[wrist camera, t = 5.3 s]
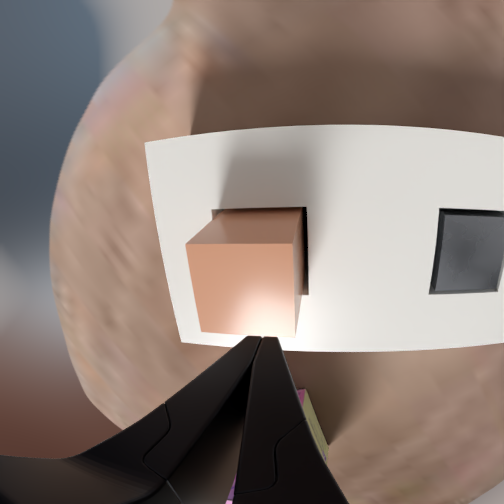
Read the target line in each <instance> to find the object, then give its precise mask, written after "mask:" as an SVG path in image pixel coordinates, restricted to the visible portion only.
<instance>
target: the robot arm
mask: <svg viewBox="0 0 504 504" xmlns="http://www.w3.org/2000/svg"><path fill="white" fill-rule="evenodd" d="M236 473H237V474H236ZM235 476H236V480H235V487H234V496H233V501H232V504H349V503H348V501H347V499H346V498H345V496H344V494H343V492H342V491H341V489H340V487H339V486H338V484H337V482H336V481H335V479H334V477H333V475H332V474H331V472H330V470H329V468H328V467H327V465H326V463H325V461H324V459H323V457H322V455H321V453H320V451H319V449H318V447H317V445H316V442H315V440H314V437H313V435H312V432H311V430H310V427H309V424H308V421H307V419H306V416H305V413H304V410H303V407H302V404H301V402H300V399H299V396H298V393H297V390H296V387H295V384H294V382H293V379H292V376H291V373H290V370H289V367H288V364H287V361H286V359H285V356H284V353H283V350H282V347H281V344H280V341H279V339H278V337H271V336H264V337H263V338H262V337H261V336H252V335H248V336H246V337H245V338H244V339H242V340H241V341H240V342H239V343H238V344H236V345H235V346H234V347H233V348H232V349H230V350H229V351H228V352H227V353H226V354H224V355H223V356H222V357H221V358H220V359H218V360H217V361H216V362H215V363H213V364H212V365H211V366H210V367H208V368H207V369H206V370H205V371H203V372H202V373H201V374H200V375H198V376H197V377H196V378H195V379H193V380H192V381H191V382H190V383H188V384H187V385H186V386H185V387H183V388H182V389H181V390H179V391H178V392H177V393H176V394H174V395H173V396H172V397H170V398H169V399H168V400H167V401H165V404H164V403H162V404H161V405H160V406H158V407H157V408H156V409H154V410H153V411H152V412H150V413H149V414H148V415H146V416H145V417H143V418H142V419H140V420H139V421H137V422H136V423H134V424H133V425H131V426H129V427H128V428H126V429H124V430H123V431H121V432H119V433H118V434H116V435H114V436H112V437H111V438H109V439H107V440H105V441H103V442H102V443H100V444H98V445H96V446H94V447H92V448H91V449H88V450H87V451H84V452H82V453H80V454H78V455H75V456H72V457H68V458H61V459H46V458H28V457H15V456H4V455H0V504H226V501H227V499H228V496H229V493H230V490H231V487H232V485H233V482H234V479H235Z"/></svg>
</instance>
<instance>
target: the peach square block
mask: <svg viewBox="0 0 504 504" xmlns="http://www.w3.org/2000/svg"><path fill="white" fill-rule="evenodd" d="M185 247H186V253H187V259H188V264H189V270H190V276H191V281H192V287H193V292H194V298H195V303H196V308H197V313H198V318H199V323H200V328H201V332H208V333H221V334H234V335H252V336H271V337H290V338H295V336H296V330H297V324H298V318H299V312H300V305H301V299H302V292H303V286H304V279H305V262H304V227H303V207H265V208H234V209H224V210H223V211H222V212H221V213H220V214H218V215H217V216H216V217H215V218H214V219H213V220H212V221H210V222H209V223H208V224H207V225H206V226H205V227H204V228H203V229H201V230H200V231H199V232H198V233H197V234H196V235H195V236H194V237H193V238H191V239H190V240H189V241H188V242H187V243H186V244H185Z"/></svg>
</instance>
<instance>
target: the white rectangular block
mask: <svg viewBox="0 0 504 504" xmlns="http://www.w3.org/2000/svg"><path fill="white" fill-rule="evenodd" d="M145 151H146V158H147V166H148V173H149V180H150V187H151V194H152V200H153V207H154V213H155V219H156V224H157V230H158V236H159V241H160V246H161V252H162V257H163V262H164V267H165V272H166V277H167V281H168V286H169V291H170V295H171V300H172V304H173V309H174V313H175V317H176V321H177V326H178V330H179V334H180V338H181V342H186V343H195V344H204V345H215V346H226V347H234V346H235V345H236V344H238V343H239V342H240V341H241V340H242V339H244V338H245V337H246V336H248V335H234V334H221V333H208V332H201V328H200V323H199V318H198V313H197V308H196V303H195V298H194V292H193V287H192V281H191V276H190V270H189V264H188V259H187V253H186V247H185V244H186V243H187V242H188V241H189V240H190V239H191V238H193V237H194V236H195V235H196V234H197V233H198V232H199V231H200V230H201V229H203V228H204V227H205V226H206V225H207V224H208V223H209V222H210V221H212V220H213V219H214V218H215V217H216V216H217V215H218V214H220V213H221V212H222V211H223V210H224V209H234V208H265V207H307V224H308V251H304V262H305V279H304V286H303V292H302V299H301V305H300V312H299V318H298V324H297V330H296V336H295V338H290V337H278V339H279V341H280V344H281V347H282V350H287V351H316V352H383V351H411V350H430V349H445V348H457V347H468V346H478V345H488V344H496V343H504V255H503V260H502V265H501V270H500V274H499V279H498V283H497V287H496V289H478V290H449V291H435V290H434V288H433V286H432V285H431V283H430V282H431V276H432V269H433V262H434V255H435V247H436V238H437V228H438V217H439V208H456V209H479V210H497V211H499V212H501V213H503V214H504V137H501V136H494V135H488V134H481V133H473V132H465V131H456V130H447V129H436V128H423V127H408V126H388V125H305V126H283V127H267V128H254V129H243V130H232V131H223V132H214V133H205V134H198V135H190V136H183V137H176V138H170V139H163V140H157V141H151V142H146V143H145ZM261 337H262V338H263V337H264V336H261Z"/></svg>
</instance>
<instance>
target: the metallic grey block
mask: <svg viewBox="0 0 504 504" xmlns="http://www.w3.org/2000/svg"><path fill="white" fill-rule="evenodd" d="M503 255H504V214H503V213H501V212H499V211H497V210H479V209H456V208H439V217H438V228H437V238H436V247H435V255H434V262H433V269H432V276H431V282H430V283H431V285H432V286H433V288H434V290H435V291H449V290H478V289H496V287H497V283H498V279H499V274H500V270H501V265H502V260H503Z"/></svg>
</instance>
